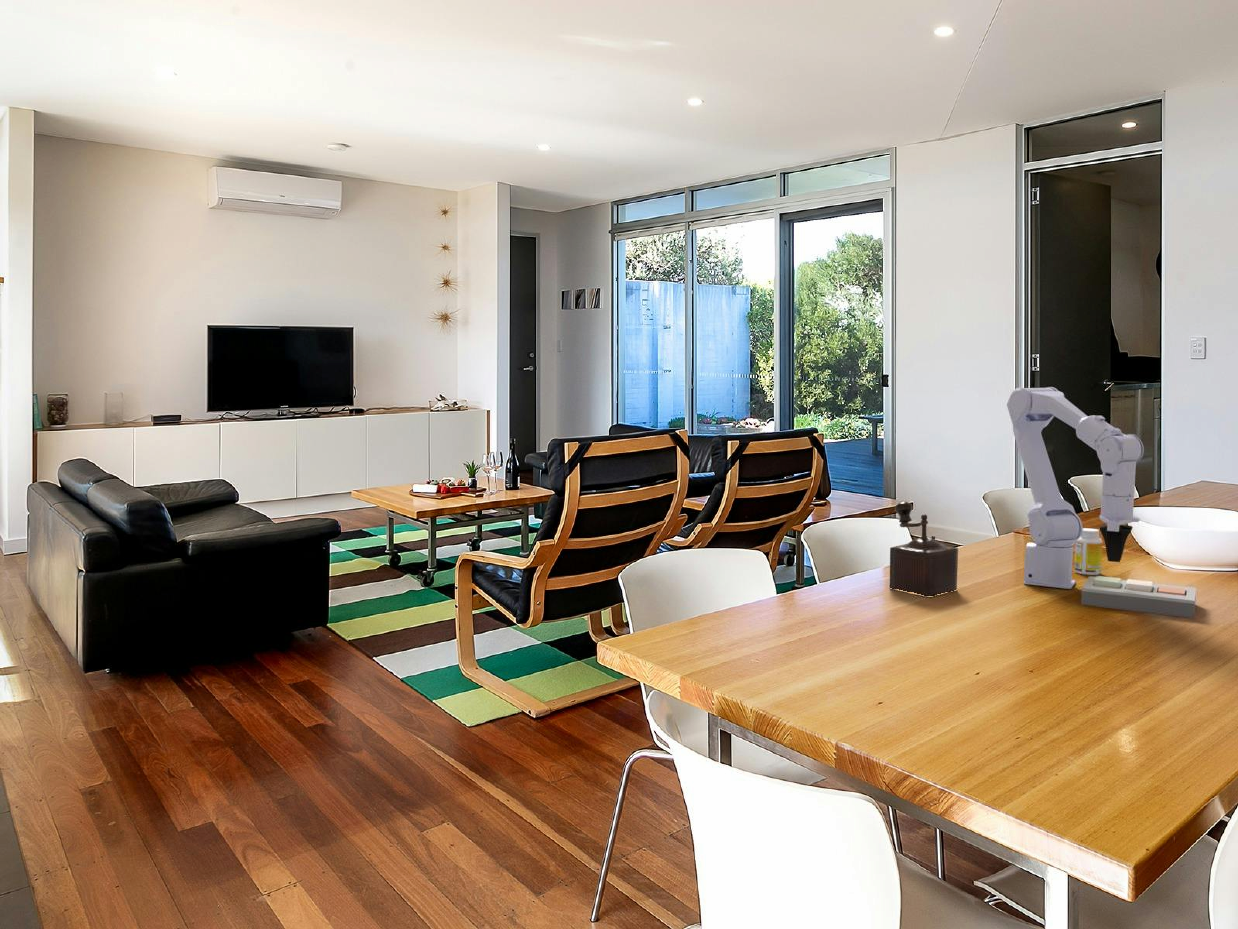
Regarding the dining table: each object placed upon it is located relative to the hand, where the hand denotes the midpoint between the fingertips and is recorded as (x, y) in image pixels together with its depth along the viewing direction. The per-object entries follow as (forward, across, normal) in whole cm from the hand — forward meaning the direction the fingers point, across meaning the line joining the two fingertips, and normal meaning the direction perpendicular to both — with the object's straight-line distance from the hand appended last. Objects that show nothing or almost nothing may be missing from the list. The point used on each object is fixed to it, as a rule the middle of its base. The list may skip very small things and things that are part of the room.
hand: (1114, 561), depth 184 cm
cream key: (+6, 0, -5) cm, 8 cm away
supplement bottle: (+9, +26, +7) cm, 28 cm away
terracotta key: (+7, 0, -10) cm, 12 cm away
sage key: (+6, 0, +1) cm, 6 cm away
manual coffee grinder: (+9, -9, +37) cm, 39 cm away
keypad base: (+8, 0, -5) cm, 10 cm away
